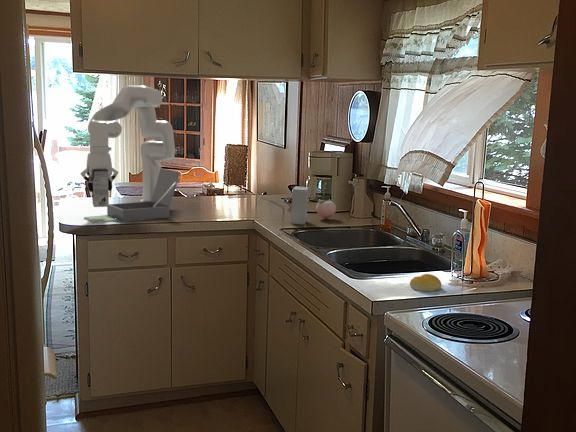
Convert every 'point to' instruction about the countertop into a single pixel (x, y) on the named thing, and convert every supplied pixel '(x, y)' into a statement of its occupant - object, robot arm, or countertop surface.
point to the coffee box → (100, 188)
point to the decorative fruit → (326, 208)
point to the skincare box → (299, 205)
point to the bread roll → (426, 283)
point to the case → (149, 208)
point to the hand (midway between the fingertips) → (100, 190)
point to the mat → (100, 219)
